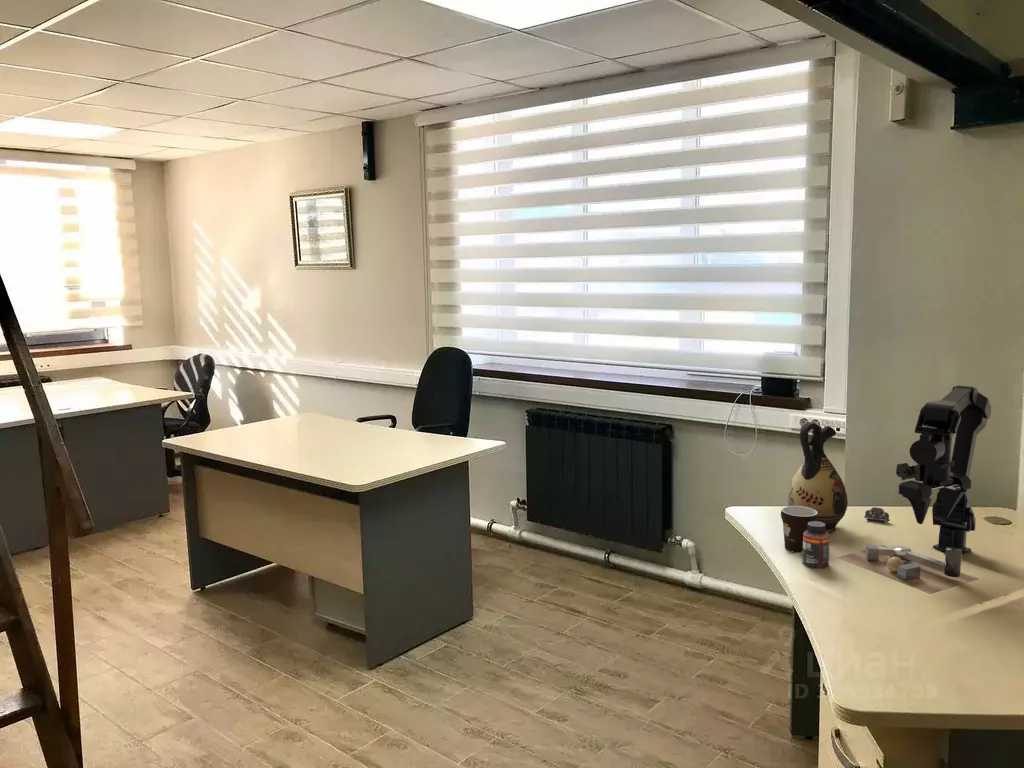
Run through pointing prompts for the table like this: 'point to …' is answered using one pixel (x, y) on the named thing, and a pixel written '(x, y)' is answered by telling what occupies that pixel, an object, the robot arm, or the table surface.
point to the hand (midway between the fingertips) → (932, 520)
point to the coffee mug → (796, 525)
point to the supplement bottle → (816, 546)
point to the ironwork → (908, 570)
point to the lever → (920, 558)
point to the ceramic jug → (818, 479)
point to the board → (927, 582)
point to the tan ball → (894, 563)
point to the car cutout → (877, 515)
